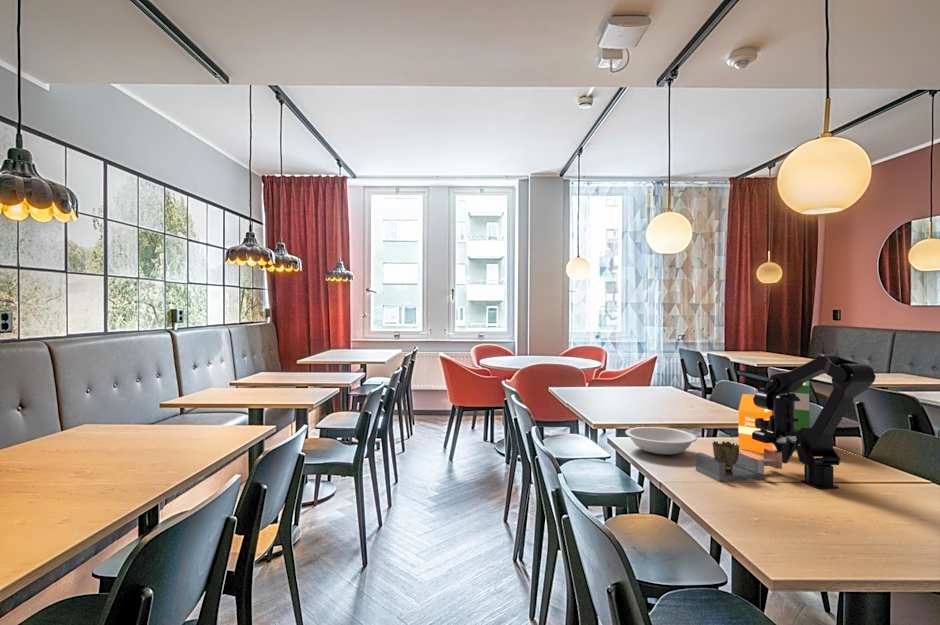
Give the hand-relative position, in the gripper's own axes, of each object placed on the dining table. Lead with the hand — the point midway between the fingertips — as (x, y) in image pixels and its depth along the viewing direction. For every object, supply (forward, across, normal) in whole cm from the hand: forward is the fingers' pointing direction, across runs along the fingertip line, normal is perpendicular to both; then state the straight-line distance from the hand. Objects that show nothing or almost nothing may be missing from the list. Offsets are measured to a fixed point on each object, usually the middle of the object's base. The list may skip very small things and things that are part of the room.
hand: (784, 463), depth 151 cm
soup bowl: (+3, +27, -26) cm, 38 cm away
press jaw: (+1, +9, 0) cm, 9 cm away
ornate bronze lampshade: (+1, +21, 0) cm, 21 cm away
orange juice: (+3, -10, -24) cm, 26 cm away
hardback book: (+3, -31, -27) cm, 41 cm away
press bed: (+2, +20, 0) cm, 20 cm away
